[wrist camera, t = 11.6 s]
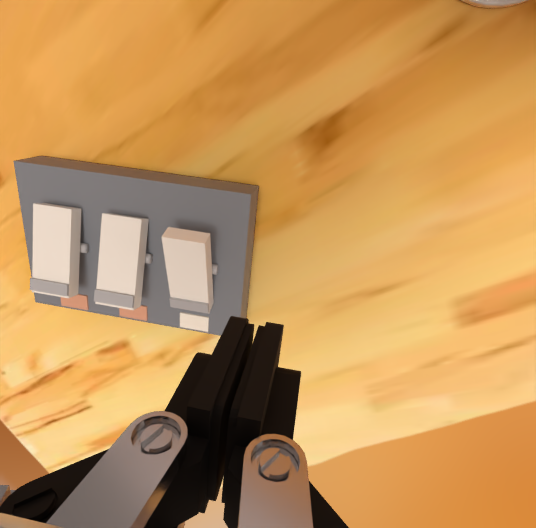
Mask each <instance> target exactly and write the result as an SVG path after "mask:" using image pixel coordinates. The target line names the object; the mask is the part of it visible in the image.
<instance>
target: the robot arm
mask: <svg viewBox="0 0 536 528" xmlns="http://www.w3.org/2000/svg"><path fill="white" fill-rule="evenodd" d="M461 1H463V2H465V3H468V4H471V5H473V6H477V7H484V8H501V7H509V6H512V5H516V4H520V3H523V2H525V1H528V0H461ZM283 326H284V325H281V324H275V323H269V322H266V325H265V326H260V325H259V327H258V330H257V333H256V336H255V338H254V341H253V333H254V324H248V319H247V318H241V317H235V316H231V317H230V318H229V320H228V322H227V325H226V327H225V329H224V331H223V333H222V335H221V337H220V339H219V341H218V343H217V345H216V347H215V349H214V351H213V353H212V355H210V354H205V353H199V352H198V353H197V354H196V355H195V356H194V358H193V360H192V362H191V364H190V366H189V367H188V369H187V371H186V373H185V375H184V377H183V378H182V380H181V382H180V384H179V386H178V388H177V389H176V391H175V393H174V395H173V397H172V398H171V400H170V402H169V404H168V406H167V408H166V409H165V411H155V412H151V413H147V414H144V415H142V416H141V417H139V418H137V419H136V420H135V421H133V422H132V423H131V424H130V425H129V426H128V427H127V429H126V430H125V431H124V432H123V433H122V434H121V436H120V437H119V438H118V439H117V440H116V442H115V443H114V444H113V445H112V446H111V447H110V449H108V450H105V451H103V452H100V453H98V454H96V455H93V456H91V457H88V458H86V459H84V460H81V461H79V462H76V463H74V464H71V465H69V466H67V467H64V468H62V469H59V470H57V471H55V472H52V473H50V474H47V475H45V476H43V477H40V478H38V479H35V480H33V481H31V482H29V483H27V484H25V485H23V486H21V487H20V488H18V489H17V490H10V487H9V485H0V528H184V525H185V521H186V520H188V519H190V518H192V517H193V516H195V515H197V514H198V513H199V512H201V513H205V510H206V507H207V503H208V501H209V500H213V501H216V499H217V496H218V492H219V489H220V486H221V483H222V479H223V476H224V479H223V491H222V503H225V508H224V519H223V520H224V521H225V523H226V525H227V526H228V528H348V526H347V525H346V524H345V523H344V522H343V520H342V519H341V518H340V517H339V516H338V514H337V513H336V512H335V511H334V510H333V509H332V507H331V506H330V505H329V504H328V503H327V502H326V500H325V499H324V498H323V497H322V496H321V495H320V493H319V492H318V491H317V490H316V489H315V487H314V486H313V485H312V484H311V483H310V481H309V479H308V470H307V461H306V457H305V453H304V452H303V450H302V449H301V447H300V446H299V445H298V444H297V443H296V442H295V441H293V433H294V425H295V417H296V409H297V401H298V393H299V385H300V377H301V371H296V370H291V369H285V368H280V367H278V363H279V356H280V348H281V341H282V334H283ZM252 342H253V344H252Z"/></svg>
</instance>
